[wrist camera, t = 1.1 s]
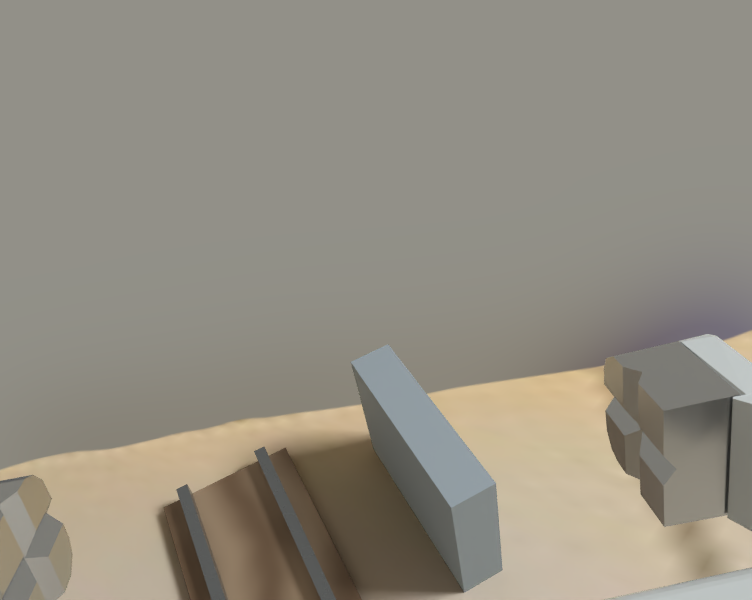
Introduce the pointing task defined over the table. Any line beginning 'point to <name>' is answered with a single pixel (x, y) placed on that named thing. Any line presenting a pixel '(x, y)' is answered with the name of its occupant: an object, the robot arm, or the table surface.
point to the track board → (256, 538)
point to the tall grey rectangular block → (431, 467)
